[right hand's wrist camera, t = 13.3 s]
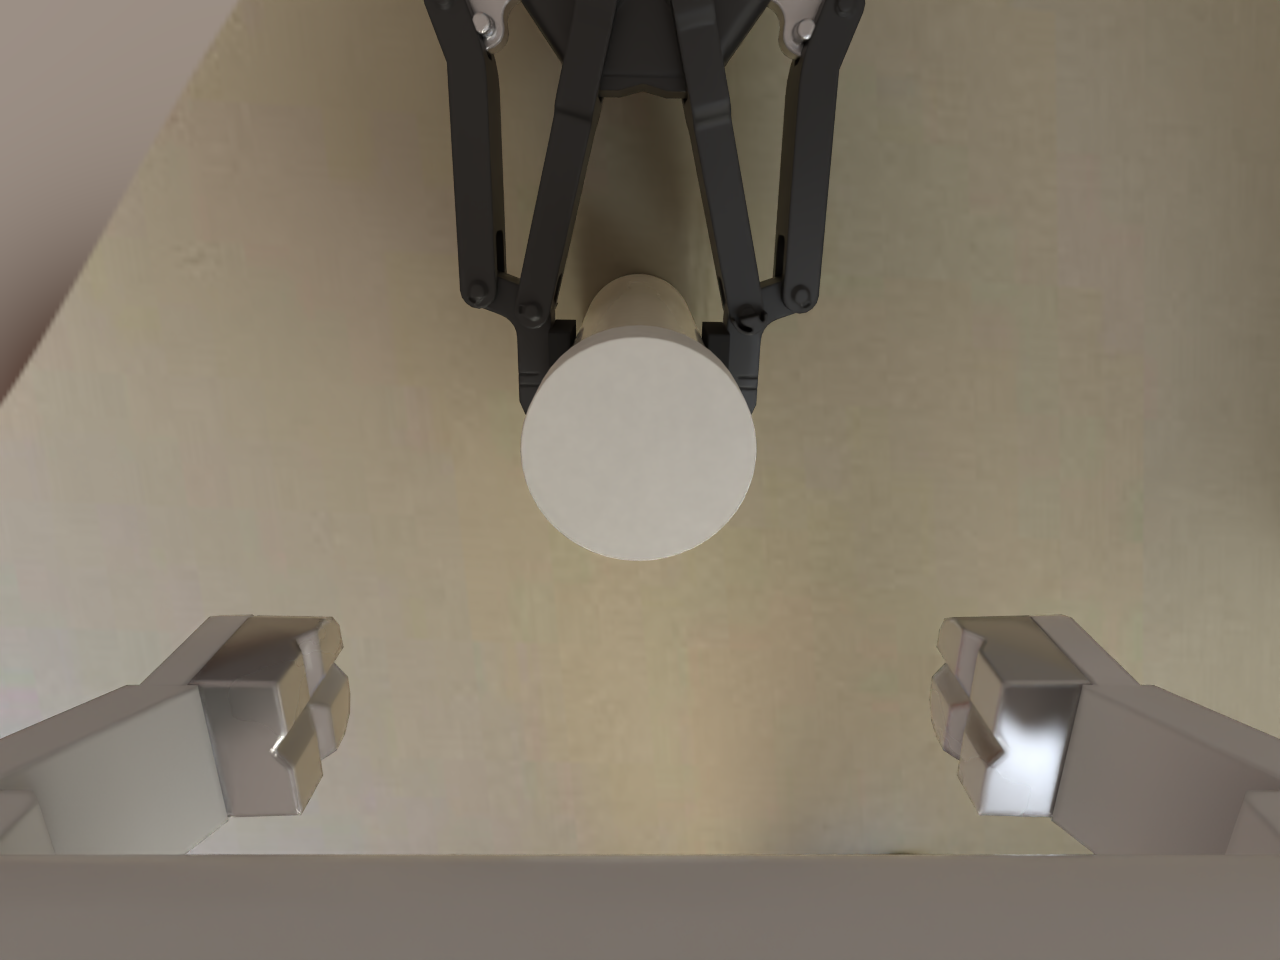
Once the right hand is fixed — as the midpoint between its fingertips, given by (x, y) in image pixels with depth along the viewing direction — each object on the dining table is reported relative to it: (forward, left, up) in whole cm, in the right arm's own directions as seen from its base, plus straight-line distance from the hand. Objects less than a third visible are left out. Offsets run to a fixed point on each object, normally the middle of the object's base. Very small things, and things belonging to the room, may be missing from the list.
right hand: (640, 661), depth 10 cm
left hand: (-1, +5, -20) cm, 20 cm away
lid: (0, 0, -9) cm, 9 cm away
